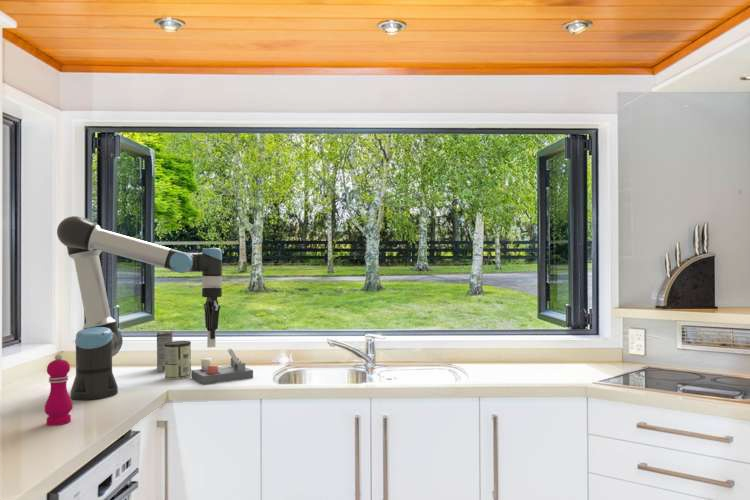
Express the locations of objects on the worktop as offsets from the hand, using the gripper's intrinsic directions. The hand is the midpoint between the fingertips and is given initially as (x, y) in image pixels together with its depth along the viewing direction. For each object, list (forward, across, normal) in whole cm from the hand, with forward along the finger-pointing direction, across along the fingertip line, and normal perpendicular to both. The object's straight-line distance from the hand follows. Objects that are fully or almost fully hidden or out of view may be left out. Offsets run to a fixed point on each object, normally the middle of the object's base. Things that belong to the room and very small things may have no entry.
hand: (211, 347), depth 227 cm
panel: (+13, +4, -6) cm, 15 cm away
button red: (+12, 0, -1) cm, 12 cm away
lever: (+9, 0, -12) cm, 14 cm away
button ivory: (+11, +8, -1) cm, 13 cm away
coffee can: (+14, +17, +8) cm, 23 cm away
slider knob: (+10, +8, -13) cm, 18 cm away
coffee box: (+14, +38, +8) cm, 41 cm away
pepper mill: (+14, -31, +55) cm, 65 cm away
